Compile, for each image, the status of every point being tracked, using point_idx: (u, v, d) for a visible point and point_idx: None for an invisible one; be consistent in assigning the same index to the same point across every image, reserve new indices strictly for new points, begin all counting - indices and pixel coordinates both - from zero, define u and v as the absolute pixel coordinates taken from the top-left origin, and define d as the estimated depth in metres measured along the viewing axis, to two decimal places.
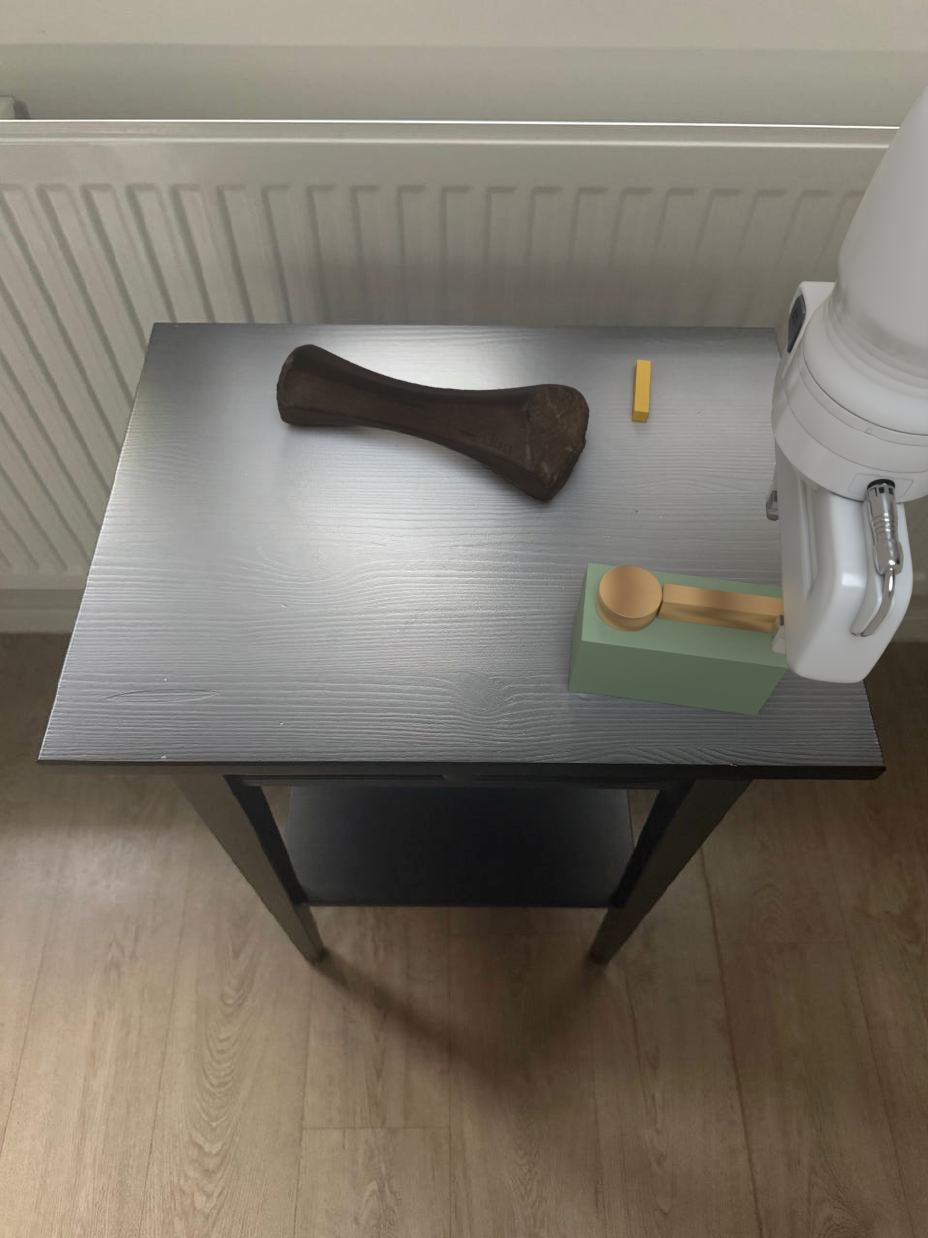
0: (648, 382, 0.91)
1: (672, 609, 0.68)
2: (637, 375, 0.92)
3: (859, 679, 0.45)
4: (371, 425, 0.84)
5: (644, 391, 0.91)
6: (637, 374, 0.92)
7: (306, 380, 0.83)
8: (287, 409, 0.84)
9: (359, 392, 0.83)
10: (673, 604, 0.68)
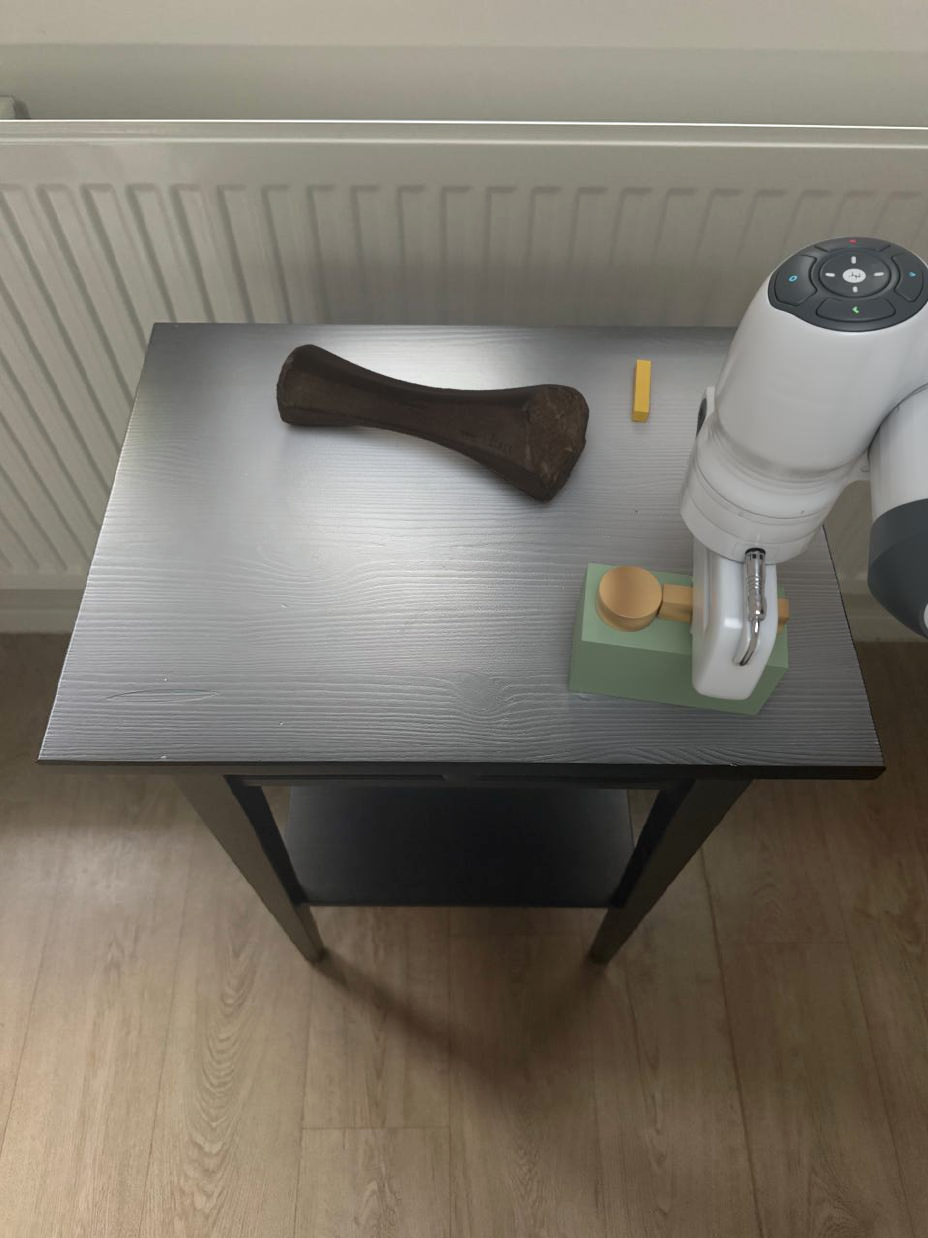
0: (648, 382, 0.91)
1: (672, 609, 0.68)
2: (637, 375, 0.92)
3: (745, 697, 0.59)
4: (371, 425, 0.84)
5: (644, 391, 0.91)
6: (637, 374, 0.92)
7: (306, 380, 0.83)
8: (287, 409, 0.84)
9: (359, 392, 0.83)
10: (673, 605, 0.68)
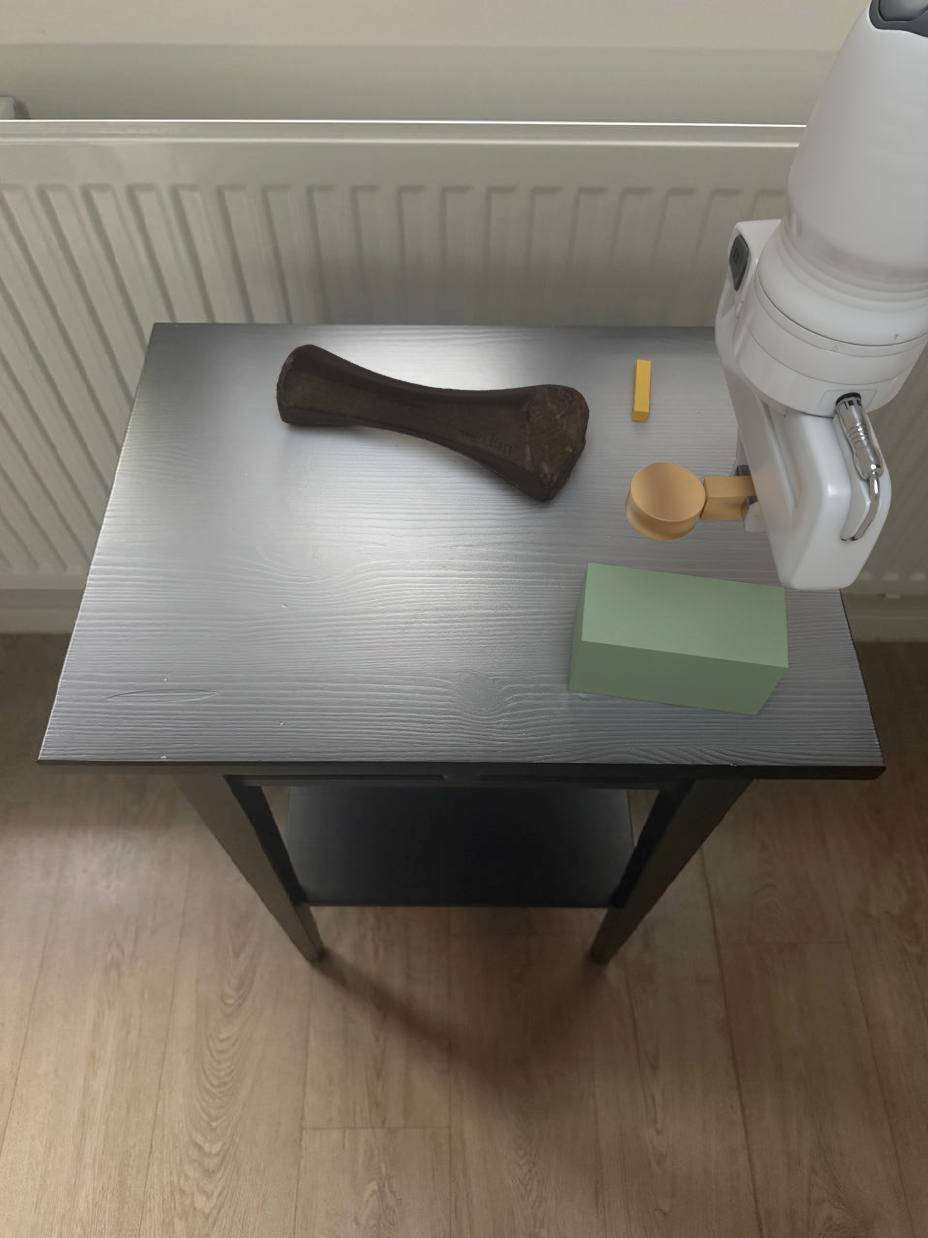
0: (648, 382, 0.91)
1: (719, 505, 0.57)
2: (637, 375, 0.92)
3: (849, 583, 0.48)
4: (371, 425, 0.84)
5: (644, 391, 0.91)
6: (637, 374, 0.92)
7: (306, 380, 0.83)
8: (287, 409, 0.84)
9: (359, 392, 0.83)
10: (721, 499, 0.57)
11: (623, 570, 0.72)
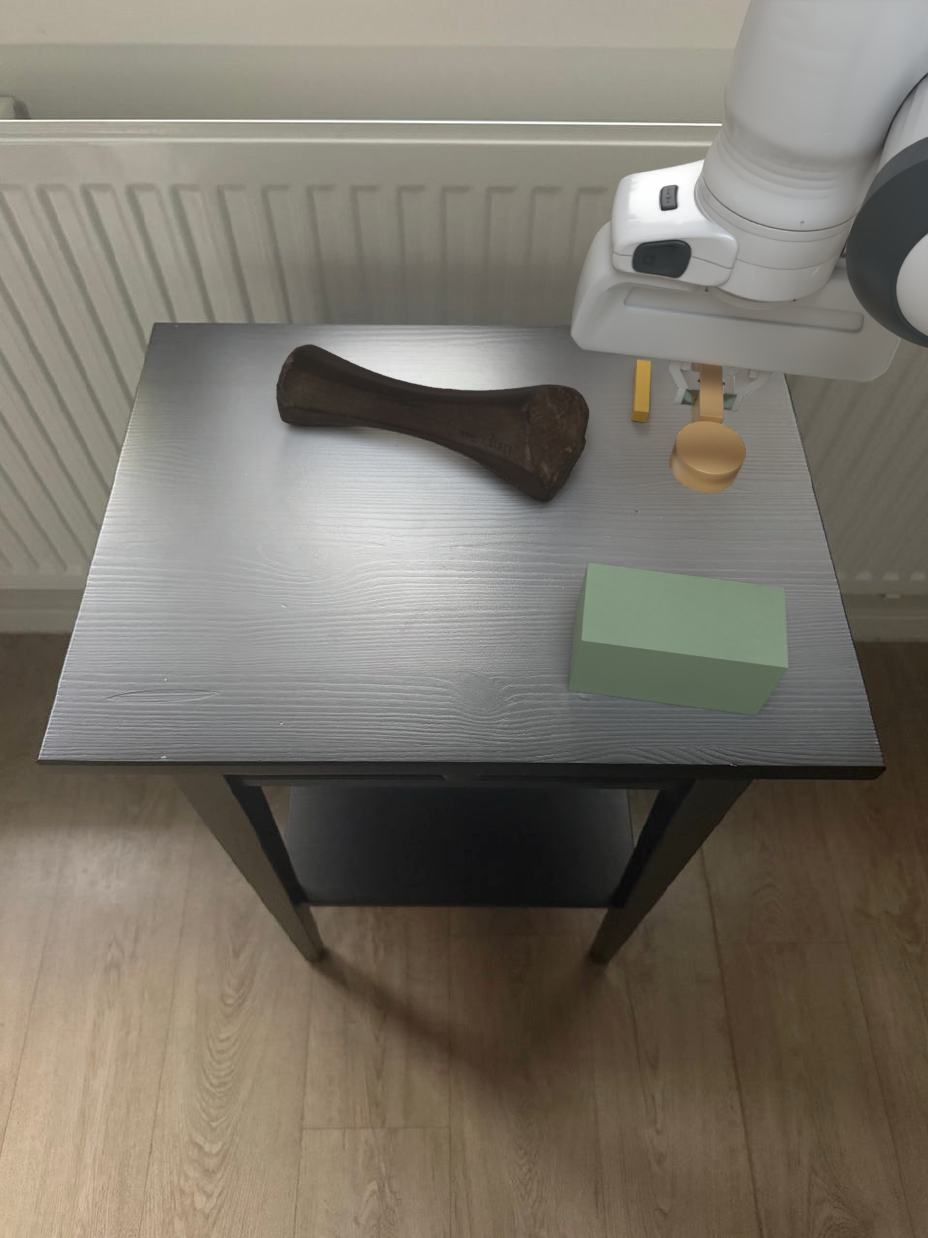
0: (648, 382, 0.91)
1: None
2: (637, 375, 0.92)
3: None
4: (371, 425, 0.84)
5: (644, 391, 0.91)
6: (637, 374, 0.92)
7: (306, 380, 0.83)
8: (287, 409, 0.84)
9: (359, 393, 0.83)
10: (722, 412, 0.63)
11: (623, 570, 0.72)
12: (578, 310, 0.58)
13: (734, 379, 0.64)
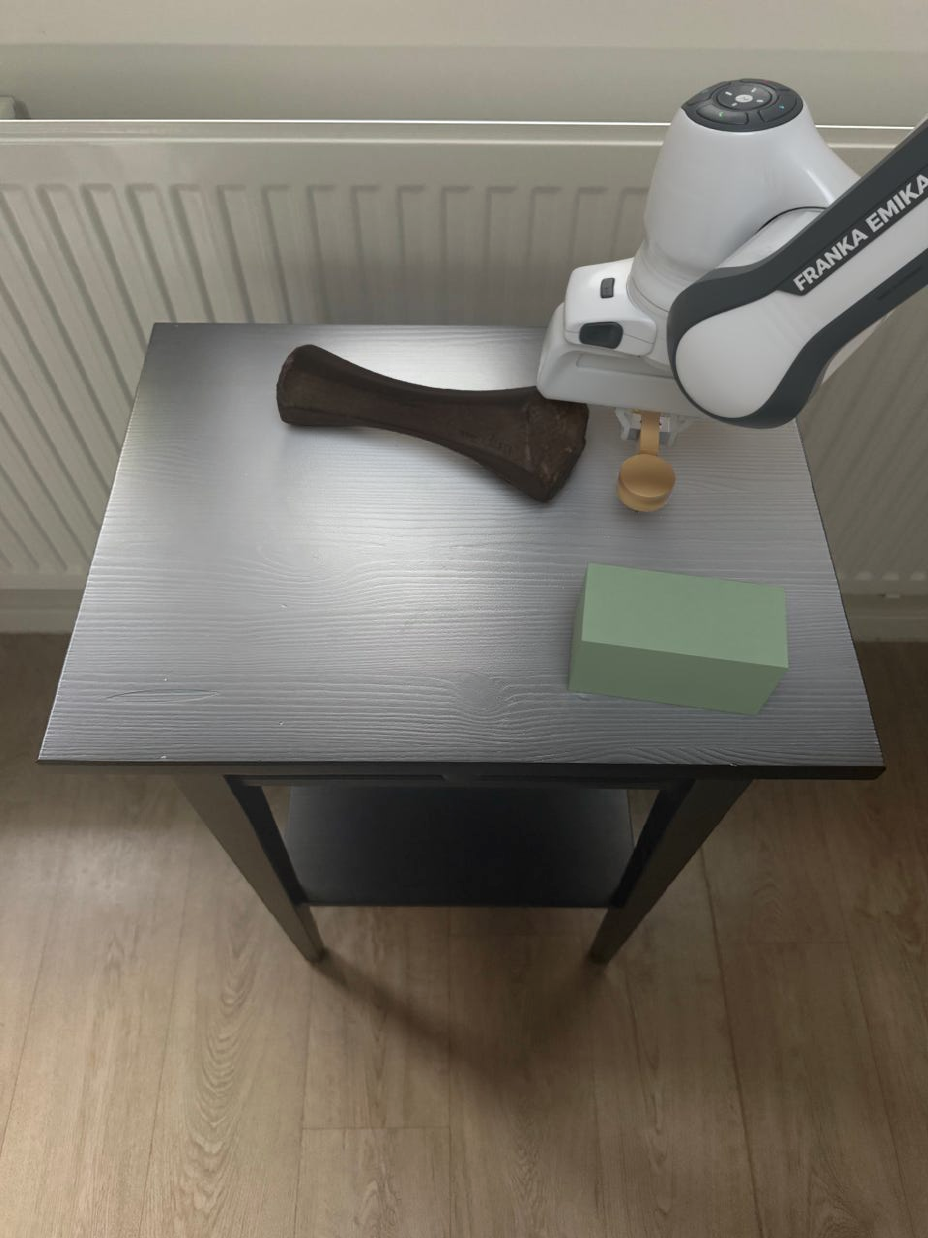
0: None
1: None
2: None
3: None
4: (371, 425, 0.84)
5: None
6: None
7: (306, 380, 0.83)
8: (287, 409, 0.84)
9: (359, 393, 0.83)
10: (658, 447, 0.79)
11: (623, 570, 0.72)
12: (541, 369, 0.74)
13: (669, 420, 0.80)
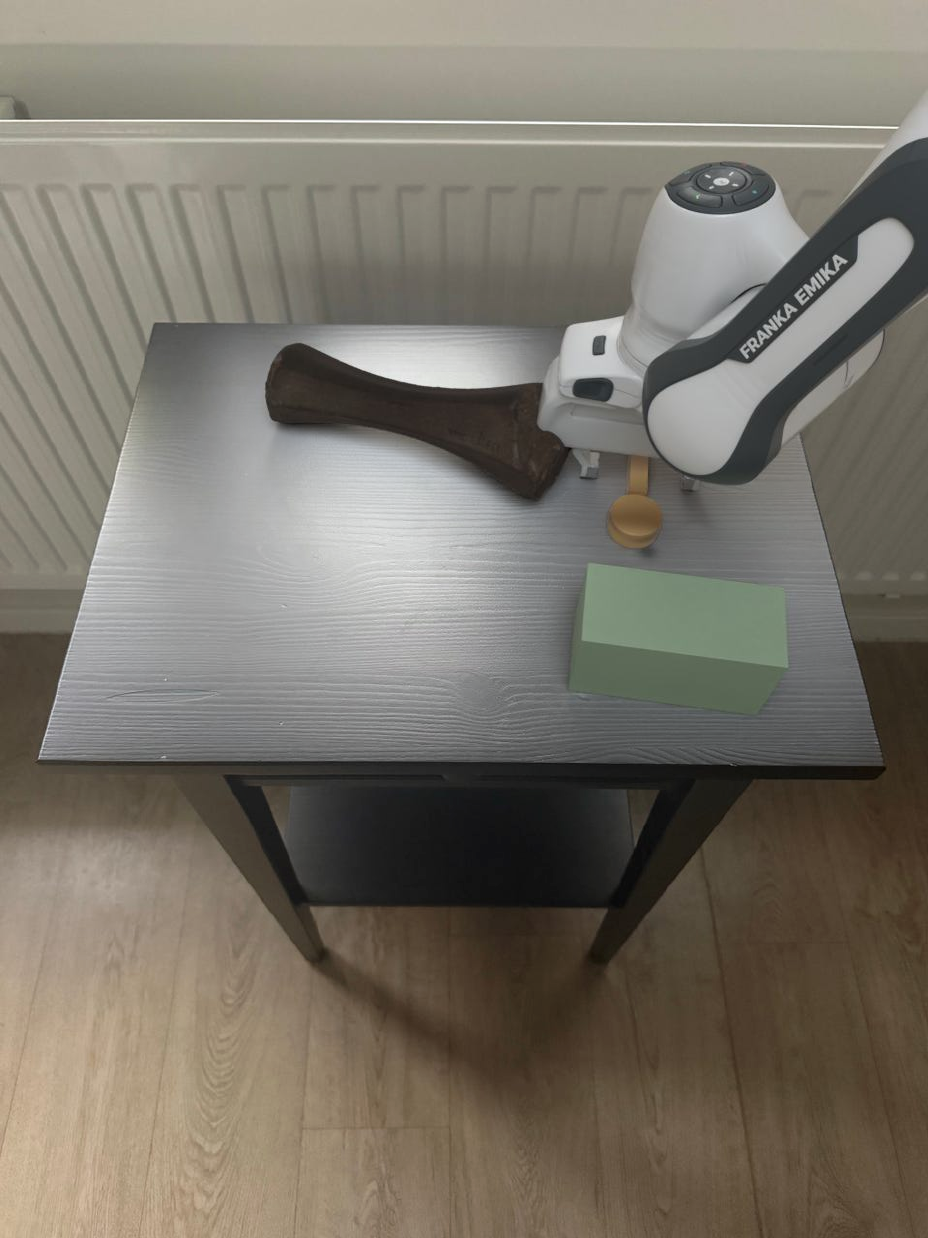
0: None
1: None
2: None
3: None
4: (360, 424, 0.84)
5: None
6: None
7: (295, 378, 0.83)
8: (276, 407, 0.85)
9: (347, 391, 0.83)
10: (646, 487, 0.84)
11: (623, 570, 0.72)
12: (538, 418, 0.79)
13: None
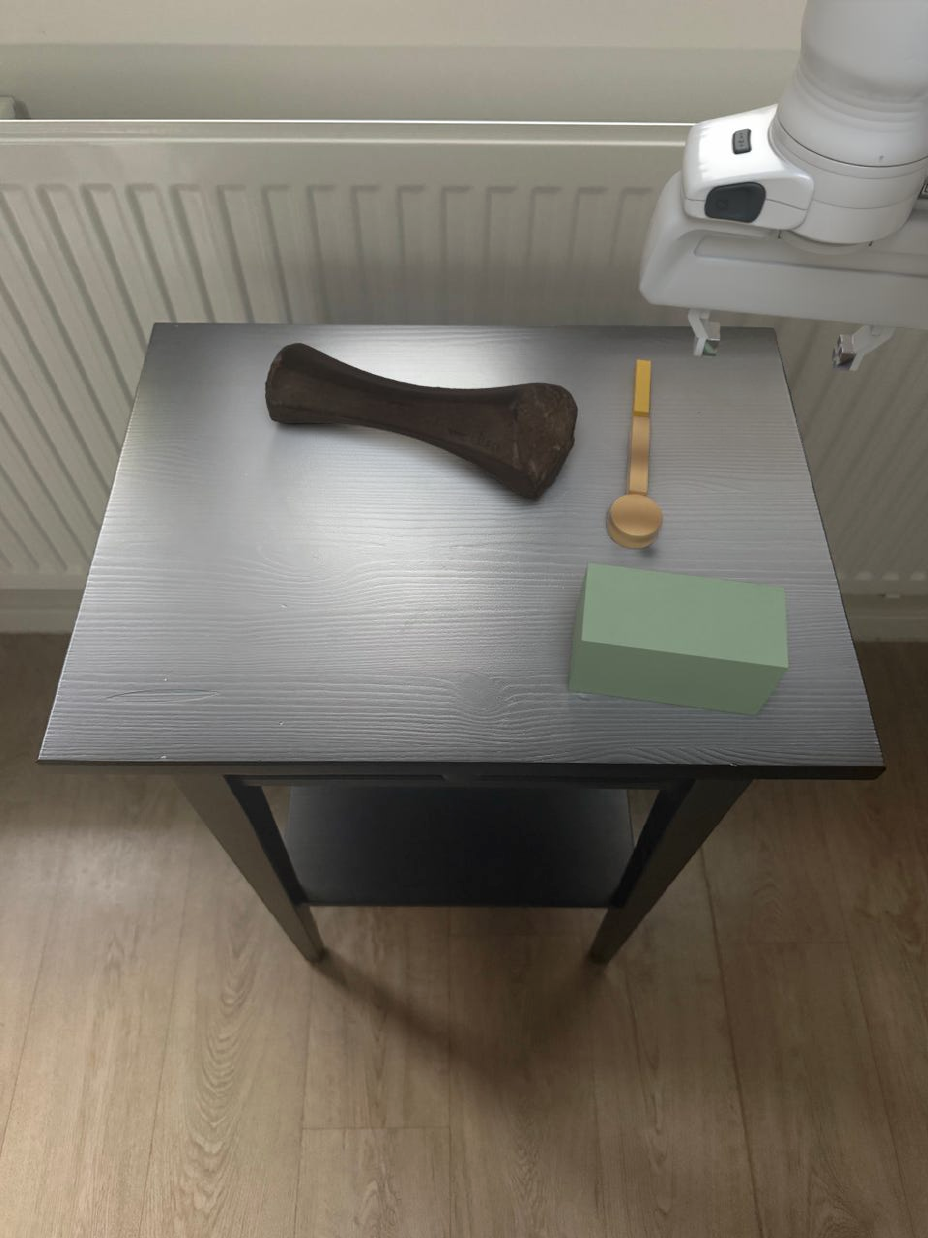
0: (648, 382, 0.91)
1: None
2: (637, 375, 0.92)
3: None
4: (360, 424, 0.84)
5: (644, 391, 0.91)
6: (637, 374, 0.92)
7: (295, 378, 0.83)
8: (275, 407, 0.85)
9: (347, 391, 0.83)
10: (646, 487, 0.84)
11: (623, 570, 0.72)
12: (647, 262, 0.58)
13: (853, 338, 0.63)
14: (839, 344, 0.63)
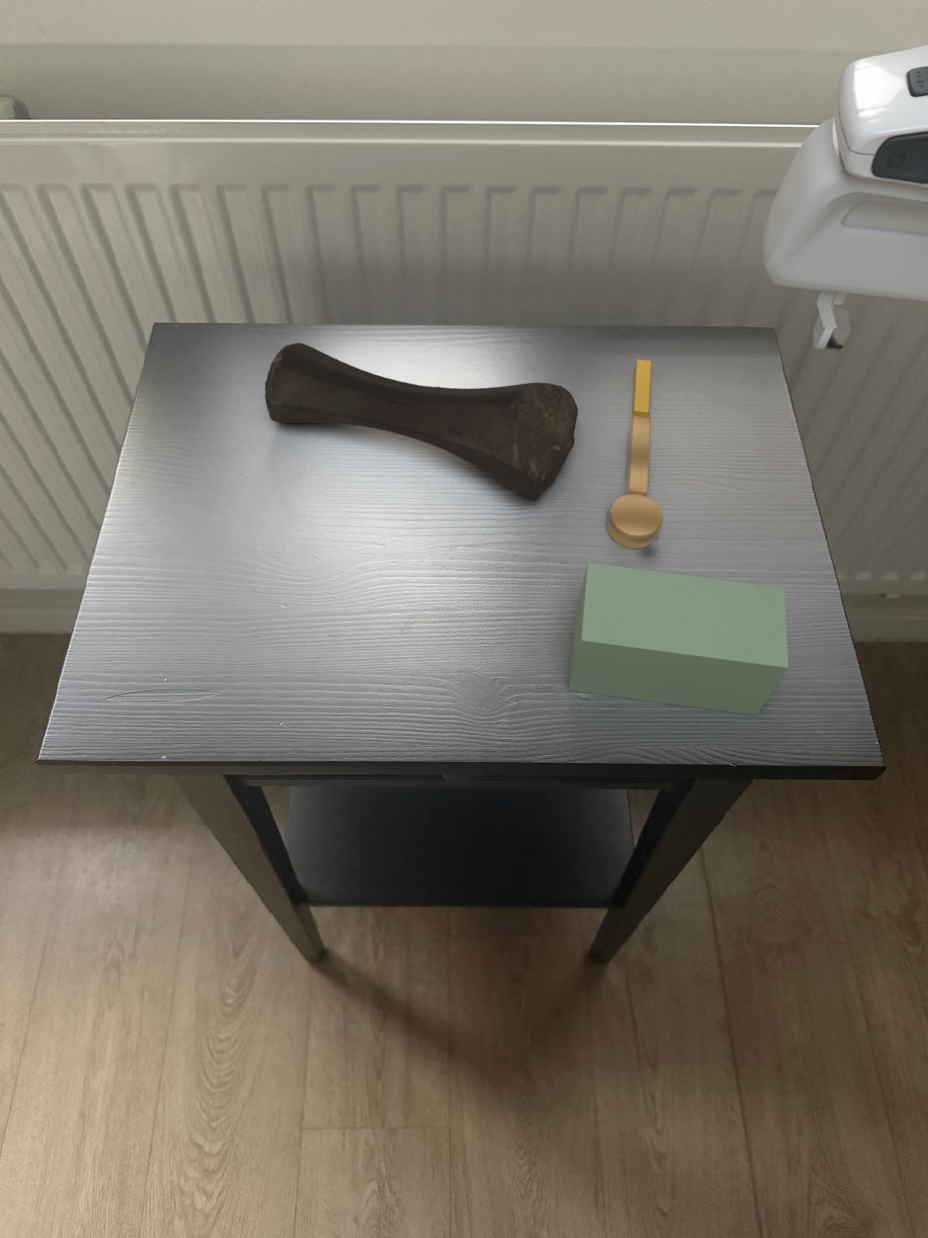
0: (648, 382, 0.91)
1: None
2: (637, 375, 0.92)
3: None
4: (359, 424, 0.84)
5: (644, 391, 0.91)
6: (637, 374, 0.92)
7: (295, 378, 0.83)
8: (275, 407, 0.85)
9: (347, 391, 0.83)
10: (646, 487, 0.84)
11: (623, 570, 0.72)
12: (782, 233, 0.47)
13: None
14: None
